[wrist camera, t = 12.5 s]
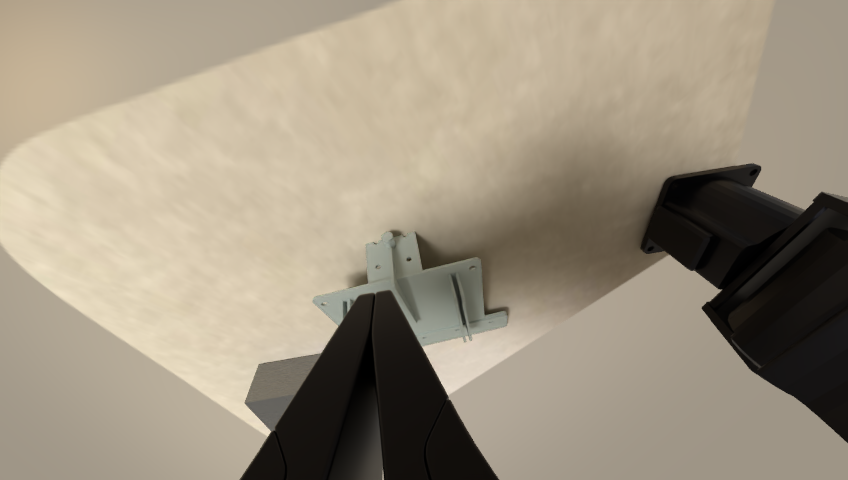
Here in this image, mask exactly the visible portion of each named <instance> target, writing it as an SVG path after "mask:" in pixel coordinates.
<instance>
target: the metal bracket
mask: <svg viewBox="0 0 848 480" xmlns="http://www.w3.org/2000/svg"><path fill="white" fill-rule="evenodd" d="M381 236H382V240H380V241H378V244H374V242H372V243H368V244H366V257H367V274H368V284H365V285H361V286H356V287H352V288H348V289H344V290H340V291H336V292H332V293H328V294H324V295H320V296H316V297H314V298H313V303H314V304H315V305H316V306H317V307H318V308H320V309H321V310H322V311H323V312H324V313H325V314H326V315H327V316H328V317H329V318H330V319H332V320H333V321H334V322H335V323H336V324H337V325H338V326H339V325H340V323H341V322H342V320H343V319H344V317H345V315H346V314H347V312H348V311H349V309H350V308H351V306H352V305H353V303H354V301H355V300H356V298H357V297H358V296H359V295H361V294H366V293H375V294H376V292H378V291H384V290H391V291H392V292H393V294H394V296H395V298H396V300H397V302H398V303H399V305H400V307H401V309H402V311H403V313H404V315H405V316H406V318H407V320H408V322H409V324H410V326H411V328H412V330H413V331H414V333H415V335H416V337H417V339H418V341H419V343H420V344H421V346H426V345H430V344H434V343H439V342H443V341H447V340H451V339H456V338H460V337H463V340H464V342H466V338H465V336H469V340H470V341H472V337H471V335H473V334H477V333H481V332H485V331H490V330H494V329H498V328H502V327H505V326H507V317H508V316H507V313H506V311H501V312H497V313H493V314H488V315H484V301H483V284H482V267H481V260H480V258H478V257H474V258H470V259H466V260H462V261H458V262H454V263H450V264H446V265H442V266H438V267H434V268H430V269H426V270H423V269H422V264H421V259H420V254H419V249H418V244H417V239H416V234H415V232H412V233H408V234H407V236H406V237H403V236H402V235H400V236H396V237H393V235H392V233H390V232H385V233H384V234H383V235H381ZM408 258H411V261H407V259H408ZM377 266H381V267H380V268H379V269H376V268H377ZM471 266H475V267H474V268H470V267H471ZM323 302H328V303H327V304H323Z"/></svg>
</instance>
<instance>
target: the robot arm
mask: <svg viewBox="0 0 848 480" xmlns="http://www.w3.org/2000/svg"><path fill="white" fill-rule="evenodd" d="M760 171H761V166H759V165H756V164H746V165H740V166H733V167H727V168H721V169H715V170H709V171H703V172H697V173H691V174H685V175H678V176H673V177H671V178H669V179H668V180H667V181H666V182H665V184H664V186H663V189H662V192H661V194H660V197H659V200H658V202H657V205H656V208H655V210H654V213H653V216H652V218H651V221H650V224H649V226H648V229H647V232H646V234H645V237H644V240H643V242H642V245H641V250H642V251H643V252H644V253H646V254H650V253H656V252H662V251H666V252H667V253H668V254H669V255H671V256H672V257H673V258H675V259H676V260H677V261H678V262H680V263H681V264H682V265H684V266H685V267H686V268H687V269H689V270H691V271H693V270H694V271H696V272H697V273H698V274H700V275H701V276H702V277H704V278H705V279H706V280H707V281H709V282H710V283H711V284H713V285H714V286H715V287H716V288H718V289H723V290H722V291H721V292H720V293H718V294H717V296H715V297H714V298H713V299H712V300H711V301H710V302H707V303H706V304H705V305H704V306H703V307H702V310H703V311H704V312H705V313H706V315H707V316H708V317H709V318H710V320H711V321H712V323H713V324H714V325H715V326H716V328H717V329H718V330H719V331H720V333H721V334H722V335H723V336H724V338H725V339H726V340H727V341H728V343H729V344H730V345H731V346H732V347H733V349H734V350H735V351H736V352H737V354H738V355H739V356H740V357H741V359H742V360H743V361H744V362H745V364H746V365H747V366H748V367H749V369H751V371H753V372H754V373H756V374H758V375H759V376H760V377H761V378H763V379H764V380H766V381H768V382H770V383H771V384H772V385H774V386H776V387H777V388H779V389H781V390H782V391H784V392H786V393H788V394H790V395H792V396H794V397H795V398H796V399H798V400H799V401H800V402H802V403H803V404H804V405H806V406H807V407H808V408H809V409H810V410H811V411H813V412H814V413H815V414H816V415H817V416H818V417H820V418H821V419H822V420H823V421H824V422H825V423H826V424H827V425H828V426H830V427H831V428H832V429H833V430H834V431H835V432H836V433H837V434H839V435H840V436H841V437H842V438H843V439H844V440H845V441H846V442H847V443H848V198H847V197H843V196H838V195H834V194H829V193H825V192H821V193H820V194H819V195H818V196H817V197H816V198H815V199H814V200H813V201H814V203H812V205H810V206H809V207H808V208H807V209H806V210H804V209H801V208H799V207H797V206H794V205H792V204H790V203H787V202H785V201H783V200H780V199H778V198H775V197H773V196H771V195H768V194H766V193H764V192H761V191H759V190H757V189H754V188H752V186H753V184H754V182H755V180H756V178H757V177H758V175H759V173H760ZM382 470H383V472H384V480H499V479H498V477H497V476H496V474H495V473H494V472H493V470H492V469H491V467H490V465H489V464H488V463H487V461H486V460H485V458H484V456H483V455H482V453H481V452H480V450H479V449H478V447H477V446H476V444H475V443H474V441H473V439H472V438H471V436H470V434H469V432H468V431H467V429H466V427H465V426H464V424H463V422H462V420H461V419H460V417H459V415H458V413H457V411H456V409H455V408H454V406H453V404H452V402H451V400H449V397H448V395H447V393H446V391H445V389H444V387H443V385H442V384H441V382H440V380H439V378H438V376H437V374H436V372H435V371H434V369H433V367H432V365H431V363H430V361H429V359H428V358H427V356H426V354H425V352H424V350H423V348H422V346H421V344H420V343H419V341H418V339H417V337H416V335H415V333H414V331H413V330H412V328H411V326H410V324H409V322H408V320H407V318H406V316H405V315H404V313H403V311H402V309H401V307H400V305H399V303H398V302H397V300H396V298H395V296H394V294H393V292H392V291H391V290H384V291H378V292H376V294H375V293H366V294H361V295H359V296H358V297H357V298H356V300H355V301H354V303H353V305H352V306H351V308H350V309H349V311H348V312H347V314H346V315H345V317H344V319H343V320H342V322H341V323H340V325H339V326H338V328H337V330H336V331H335V333H334V334H333V336H332V337H331V339H330V341H329V342H328V344H327V345H326V347H325V348H324V350H323V352H322V353H321V355H320V356H319V358H318V359H317V361H316V363H315V364H314V366H313V367H312V369H311V370H310V372H309V373H308V375H307V377H306V378H305V380H304V381H303V383H302V384H301V386H300V388H299V389H298V391H297V392H296V394H295V395H294V397H293V399H292V400H291V402H290V403H289V405H288V406H287V408H286V410H285V411H284V413H283V414H282V416H281V417H280V419H279V420H278V422H277V424H276V425H275V430H273V431H271V433H270V434H269V436H268V437H267V439H266V441H265V442H264V444H263V445H262V447H261V448H260V450H259V452H258V453H257V455H256V456H255V458H254V459H253V461H252V462H251V464H250V465H249V467H248V468H247V470H246V471H245V473H244V474H243V476H242V477H241V479H240V480H382Z"/></svg>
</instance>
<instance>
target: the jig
mask: <svg viewBox="0 0 848 480" xmlns="http://www.w3.org/2000/svg"><path fill="white" fill-rule="evenodd" d="M320 355H321V354H317V355H311V356H305V357H299V358H293V359H288V360H282V361H276V362H270V363H264V364H259V365H258V368H257V371H256V373H255V376H254V379H253V381H252V384H251V387H250V390H249V392H248V395H247V398H246V400H245V404H246V405H247V406H248V407H249V408H250V410H251V411H252V412H253V413H254V414H255V415H256V416H257V417H258V418H259V419H260V420H261V421H262V422H263V423H264V424H265V425H266V426H267V427H268V428H269V429H270V430H271V431H273V430H275V425H276V424H277V422H278V420H279V419H280V417H281V416H282V414H283V413H284V411H285V410H286V408H287V406H288V405H289V403H290V402H291V400H292V399H293V397H294V395H295V394H296V392H297V391H298V389H299V388H300V386H301V384H302V383H303V381H304V380H305V378H306V377H307V375H308V373H309V372H310V370H311V369H312V367H313V366H314V364H315V363H316V361H317V359H318V358H319V356H320Z"/></svg>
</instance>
